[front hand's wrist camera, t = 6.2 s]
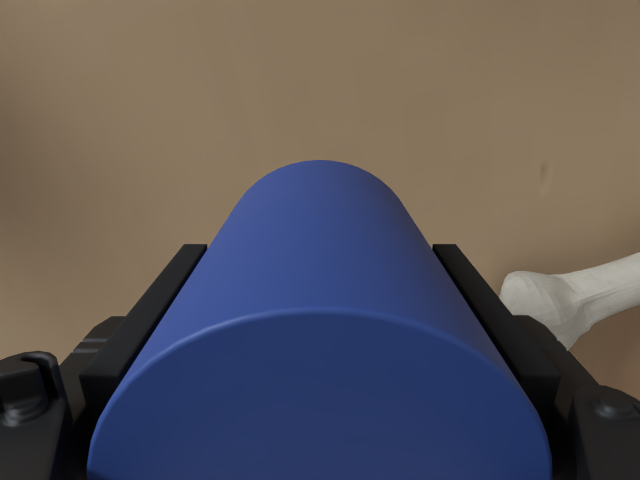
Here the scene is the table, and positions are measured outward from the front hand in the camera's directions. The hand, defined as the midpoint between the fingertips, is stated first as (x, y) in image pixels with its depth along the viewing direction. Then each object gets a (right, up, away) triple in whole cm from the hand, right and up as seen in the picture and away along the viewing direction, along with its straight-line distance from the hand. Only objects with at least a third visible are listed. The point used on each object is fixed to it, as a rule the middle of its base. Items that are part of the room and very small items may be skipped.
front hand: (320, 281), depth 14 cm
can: (0, +1, +2) cm, 2 cm away
